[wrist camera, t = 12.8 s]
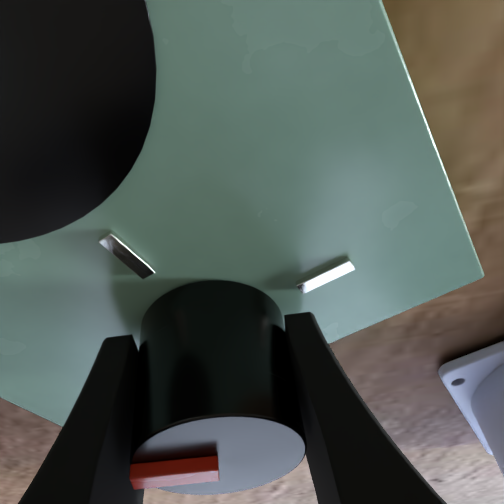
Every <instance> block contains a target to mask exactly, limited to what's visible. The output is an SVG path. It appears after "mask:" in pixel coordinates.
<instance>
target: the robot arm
mask: <svg viewBox="0 0 504 504" xmlns="http://www.w3.org/2000/svg"><path fill="white" fill-rule="evenodd" d="M284 321H285V335H286V340H287V345H288V350H289V356H290V361H291V366H292V370H293V375H294V380H295V385H296V389H297V395H298V400H299V405H300V410H301V415H302V420H303V425H304V431H305V436H306V441H307V451H306V457H307V461H308V464H309V468H310V472H311V476H312V480H313V483H314V487H315V491H316V495H317V500H318V504H447V503H446V502H445V501H444V500H443V499H442V498H441V497H440V496H439V495H438V494H437V493H436V492H435V491H434V489H433V488H432V487H431V486H430V485H429V484H428V482H427V481H426V480H425V479H424V478H423V477H422V476H421V474H420V473H419V472H418V471H417V470H416V469H415V467H414V466H413V465H412V464H411V463H410V461H409V460H408V459H407V458H406V457H405V455H404V454H403V453H402V452H401V450H400V449H399V448H398V447H397V445H396V444H395V443H394V442H393V440H392V439H391V438H390V436H389V435H388V434H387V433H386V431H385V430H384V429H383V427H382V426H381V425H380V423H379V422H378V420H377V419H376V418H375V416H374V415H373V414H372V412H371V411H370V409H369V408H368V407H367V405H366V404H365V402H364V401H363V399H362V398H361V397H360V395H359V393H358V392H357V390H356V389H355V387H354V386H353V384H352V383H351V381H350V380H349V378H348V377H347V375H346V374H345V372H344V370H343V369H342V367H341V365H340V364H339V362H338V360H337V359H336V357H335V355H334V353H333V352H332V350H331V348H330V346H329V345H328V343H327V341H326V339H325V337H324V335H323V333H322V331H321V329H320V327H319V325H318V323H317V320H316V318H315V316H314V314H313V313H311V312H303V313H295V314H287V315H284ZM138 355H139V351H138V348H137V346H136V343H135V341H134V338H133V336H132V334H130V335H123V336H115V337H107V338H105V340H104V341H103V342H102V345H101V347H100V350H99V352H98V354H97V357H96V359H95V361H94V364H93V366H92V368H91V371H90V373H89V375H88V377H87V379H86V381H85V384H84V386H83V388H82V390H81V392H80V394H79V396H78V398H77V400H76V402H75V404H74V406H73V408H72V410H71V412H70V414H69V416H68V418H67V420H66V422H65V424H64V426H63V428H62V430H61V432H60V433H59V435H58V437H57V439H56V441H55V442H54V444H53V446H52V448H51V450H50V451H49V453H48V455H47V457H46V458H45V460H44V462H43V464H42V465H41V467H40V469H39V471H38V472H37V474H36V476H35V477H34V479H33V481H32V482H31V484H30V485H29V487H28V489H27V490H26V492H25V494H24V495H23V497H22V498H21V500H20V501H19V503H18V504H143V496H144V489H136V490H135V489H133V486H132V484H131V481H130V479H129V474H130V450H131V438H132V426H133V414H134V402H135V390H136V379H137V367H138ZM438 374H439V376H440V378H441V380H442V382H443V383H444V385H445V387H446V388H447V390H448V391H449V393H450V394H451V396H452V398H453V399H454V401H455V402H456V404H457V406H458V407H459V409H460V410H461V412H462V413H463V415H464V417H465V418H466V420H467V421H468V423H469V425H470V426H471V428H472V429H473V431H474V432H475V434H476V436H477V437H478V439H479V440H480V442H481V444H482V445H483V447H484V448H485V450H486V452H487V453H488V454H490V455H494V457H495V459H496V461H497V464H498V466H499V468H500V470H501V472H502V474H503V476H504V341H502V342H499V343H496V344H494V345H491V346H489V347H486V348H483V349H481V350H478V351H476V352H473V353H470V354H468V355H465V356H463V357H460V358H457V359H455V360H452V361H450V362H447V363H445V364H443V365H442V366H441V367H440V368H439V370H438Z"/></svg>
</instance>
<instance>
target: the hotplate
mask: <svg viewBox="0 0 504 504" xmlns="http://www.w3.org/2000/svg"><path fill="white" fill-rule="evenodd" d="M146 2H147V7H148V11H149V16H150V20H151V25H152V30H153V34H154V43H155V54H156V65H157V73H156V97H155V104H154V109H153V114H152V120H151V125H150V128H149V131H148V134H147V137H146V140H145V143H144V145H143V148H142V151H141V153H140V154H139V156H138V158H137V160H136V162H135V164H134V166H133V167H132V169H131V171H130V172H129V174H128V175H127V176H126V178H125V179H124V180H123V182H122V183H121V184H120V186H119V187H118V188H117V189H116V190H115V191H114V192H113V193H112V194H111V195H110V196H109V197H108V198H107V199H106V200H105V201H104V202H103V203H102V204H101V205H99V206H98V207H97V208H95V209H94V210H92V211H91V212H90V213H88V214H87V215H85V216H84V217H82V218H81V219H79V220H77V221H75V222H73V223H71V224H69V225H67V226H65V227H63V228H61V229H58V230H56V231H53V232H50V233H48V234H45V235H42V236H38V237H34V238H30V239H26V240H22V241H18V242H10V243H3V244H0V398H2V399H4V400H7V401H9V402H11V403H13V404H15V405H17V406H19V407H21V408H24V409H26V410H28V411H30V412H32V413H34V414H36V415H38V416H40V417H43V418H45V419H47V420H49V421H51V422H53V423H55V424H57V425H59V426H62V427H63V426H64V424H65V422H66V420H67V418H68V416H69V414H70V412H71V410H72V408H73V406H74V404H75V402H76V400H77V398H78V396H79V394H80V392H81V390H82V388H83V386H84V384H85V381H86V379H87V377H88V375H89V373H90V371H91V368H92V366H93V364H94V361H95V359H96V357H97V354H98V352H99V350H100V347H101V345H102V342H103V341H104V340H105V338H107V337H115V336H123V335H130V334H132V336H133V338H134V341H135V343H136V346H137V348H138V351H139V343H140V331H141V322H142V319H143V316H144V314H145V313H146V311H147V309H148V308H149V307H150V306H151V304H152V303H153V302H154V301H156V300H157V299H158V298H159V297H161V296H162V295H163V294H165V293H167V292H169V291H170V290H173V289H175V288H177V287H180V286H183V285H186V284H189V283H194V282H199V281H207V280H227V281H234V282H240V283H244V284H247V285H250V286H253V287H255V288H257V289H259V290H261V291H263V292H264V293H266V294H267V295H268V296H270V297H271V298H272V299H273V300H274V301H275V303H276V304H277V305H278V307H279V309H280V311H281V313H282V318H283V323H284V328H285V321H284V315H287V314H295V313H303V312H311V313H313V314H314V316H315V318H316V320H317V323H318V325H319V327H320V329H321V331H322V333H323V335H324V337H325V339H326V341H327V343H328V344H329V343H331V342H334V341H336V340H338V339H341V338H343V337H345V336H348V335H350V334H352V333H355V332H357V331H359V330H362V329H364V328H366V327H369V326H371V325H373V324H376V323H378V322H380V321H383V320H385V319H387V318H390V317H392V316H394V315H397V314H399V313H401V312H404V311H406V310H408V309H411V308H413V307H415V306H418V305H420V304H422V303H425V302H427V301H429V300H432V299H434V298H436V297H439V296H441V295H443V294H446V293H448V292H450V291H453V290H455V289H457V288H460V287H462V286H464V285H467V284H469V283H471V282H474V281H476V280H478V279H481V278H483V277H484V272H483V270H482V267H481V264H480V262H479V259H478V256H477V254H476V251H475V248H474V246H473V243H472V240H471V238H470V235H469V232H468V230H467V227H466V224H465V222H464V219H463V216H462V214H461V211H460V208H459V206H458V203H457V200H456V198H455V195H454V192H453V190H452V187H451V184H450V182H449V179H448V176H447V174H446V171H445V168H444V166H443V163H442V160H441V158H440V155H439V152H438V150H437V147H436V144H435V142H434V139H433V136H432V133H431V131H430V128H429V125H428V123H427V120H426V117H425V115H424V112H423V109H422V107H421V104H420V101H419V99H418V96H417V93H416V91H415V88H414V85H413V83H412V80H411V77H410V75H409V72H408V69H407V67H406V64H405V61H404V59H403V56H402V53H401V51H400V48H399V45H398V43H397V40H396V37H395V35H394V32H393V29H392V27H391V24H390V21H389V19H388V16H387V13H386V11H385V8H384V5H383V3H382V0H146Z"/></svg>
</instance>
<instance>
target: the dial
mask: <svg viewBox="0 0 504 504" xmlns="http://www.w3.org/2000/svg"><path fill="white" fill-rule="evenodd" d="M306 451H307V441H306V436H305V431H304V425H303V420H302V415H301V410H300V405H299V400H298V395H297V389H296V385H295V380H294V375H293V370H292V366H291V361H290V356H289V350H288V345H287V340H286V335H285V328H284V323H283V318H282V313H281V311H280V309H279V307H278V305H277V304H276V303H275V301H274V300H273V299H272V298H271V297H270V296H268V295H267V294H266V293H264V292H263V291H261V290H259V289H257V288H255V287H253V286H250V285H247V284H244V283H240V282H234V281H227V280H207V281H199V282H194V283H189V284H186V285H183V286H180V287H177V288H175V289H173V290H170V291H169V292H167V293H165V294H163V295H162V296H161V297H159V298H158V299H157V300H156V301H154V302H153V303H152V304H151V306H150V307H149V308H148V309H147V311H146V313H145V314H144V316H143V319H142V322H141V331H140V343H139V355H138V367H137V379H136V390H135V402H134V414H133V426H132V438H131V450H130V474H129V479H130V481H131V484H132V486H133V489H135V490H136V489H145V488H158V489H161V490H165V491H169V492H174V493H181V494H192V495H213V494H225V493H232V492H238V491H243V490H247V489H251V488H255V487H258V486H262V485H264V484H267V483H270V482H272V481H274V480H277V479H279V478H281V477H282V476H284V475H286V474H288V473H289V472H290V471H292V470H293V469H294V468H296V467H297V466H298V465H299V464H300V462H301V461H302V460H303V458H304V456H305V454H306Z"/></svg>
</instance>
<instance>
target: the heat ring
mask: <svg viewBox="0 0 504 504" xmlns="http://www.w3.org/2000/svg"><path fill="white" fill-rule="evenodd" d="M156 73H157V65H156V54H155V43H154V34H153V30H152V25H151V20H150V16H149V11H148V7H147V2H146V0H0V244H3V243H10V242H18V241H22V240H26V239H30V238H34V237H38V236H42V235H45V234H48V233H50V232H53V231H56V230H58V229H61V228H63V227H65V226H67V225H69V224H71V223H73V222H75V221H77V220H79V219H81V218H82V217H84V216H85V215H87V214H88V213H90V212H91V211H92V210H94V209H95V208H97V207H98V206H99V205H101V204H102V203H103V202H104V201H105V200H106V199H107V198H108V197H109V196H110V195H111V194H112V193H113V192H114V191H115V190H116V189H117V188H118V187H119V186H120V184H121V183H122V182H123V180H124V179H125V178H126V176H127V175H128V174H129V172H130V171H131V169H132V167H133V166H134V164H135V162H136V160H137V158H138V156H139V154H140V153H141V151H142V148H143V145H144V143H145V140H146V137H147V134H148V131H149V128H150V125H151V120H152V114H153V109H154V104H155V97H156Z"/></svg>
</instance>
